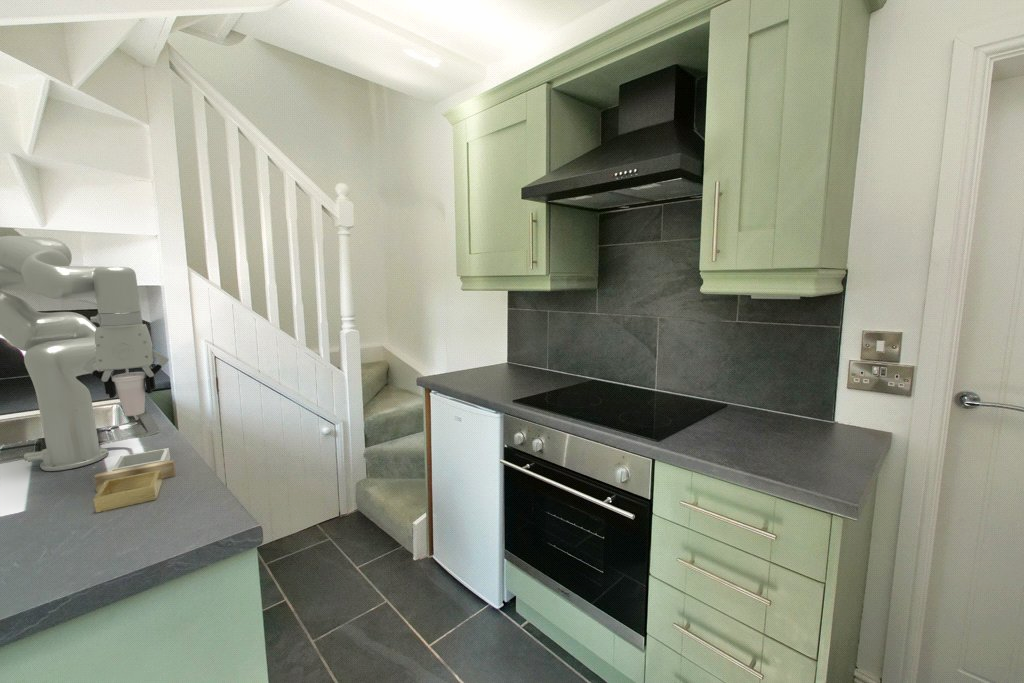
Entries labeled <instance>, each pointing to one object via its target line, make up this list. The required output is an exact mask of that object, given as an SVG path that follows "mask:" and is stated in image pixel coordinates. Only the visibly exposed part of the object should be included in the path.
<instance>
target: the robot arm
mask: <svg viewBox="0 0 1024 683" xmlns="http://www.w3.org/2000/svg"><path fill="white" fill-rule="evenodd" d="M72 259H73V258H72V252H71V250H70V248H69V247H68V245H66V243H64V242H63V241H61V240H59V239H57V238H52V237H43V236H42V237H41V236H40V237H39V236H23V235H4V236H2V235H1V236H0V335H1V336H2V337H3V338H4V339H5V340H6V341H7V342H9V344H11V345H12V346H13V347H14V348H16V349H17V350H20V351H22V352H25V354H24V357H23V362H24V365H25V369H26V370H27V373H28V375H29V377H30V379H31V381H32V384H33V388H34V391H35V394H36V399H37V404H38V409H39V414H40V419H41V426H42V431H43V437H44V443H45V446H46V448H45V449H42V450H40V451H32V452H26V453H24V454H23V459H24V461H25V462H27V463H30V462H33V463H34V462H37V461H41V463H40V469H41V470H43V471H46V472H57V471H59V472H60V471H65V470H71V469H75V468H81V467H84V466H87V465H91V464H94V463H96V462H99V461H100V460H103V459H105V458H107V457H108V455H109V451H108V449H107V448H105V447H100V444H99V438H98V431H97V425H96V419H95V411H94V406H93V401H92V400H93V399H92V396H91V392H90V390H89V388H88V387H87V386H86V385H85V384H84V383H83V382H81V381H80V380H78V379H77V377H79V376H82V375H88V374H91V375H92V376H94V377H96V378H98V379H99V380H100V381H101V382H103V383H104V391H105V394H106V395H108V396H109V399H113V398H114V397H116V396H117V390H116V387H115V383H114V382H113V381H112V376H113V373H114V371H116V370H125V369H137V368H139V369H140V368H142V370H143V372H145V373H146V376H147V377H146V378H145V389H146V393H147V394H152V393H153V392H154V390H156V381H155V375H156V374H157V373H158V372H159V371H160V370H161V369H162V368H163V367H164V366H165V365H166V364H167V363H168V362H169V360H170V358H168V357H167V356H165V355H164V354H162V353H160V352H158V351H157V350H155V349H154V347H153V346H154V345H153V341H152V337H151V334H150V331H149V329H148V326H147V324H143V317H142V312H141V303H140V297H139V296H140V295H139V288H138V281H137V274H136V272H135V270H134V269H133V268H132V267H129V266H128V267H127V266H88V265H87V266H85V265H84V266H83V265H71V263H72ZM7 291H32V292H33V293H36V294H38V295H41V296H42V297H43V296H44V297H47V298H49V299H53V300H58V301H59V300H61V301H65V300H66V301H67V300H85V299H86V300H88V299H89V300H90V299H94V300H96V308H97V312H98V313H97V314H96V315H95V316H90V320H89V319H88V317H86V316H84V315H83V314H80V313H77V312H73V311H59V312H58V311H57V312H42V311H41V312H40V311H38V310H36V309H35V308H34V307H33V306H31V304H30V303H29V302H27V301H26V300H24V299H22V298H21V297H18V296H15V294H14V295H13V294H11V293H7ZM94 323H95V324H99V326H98V327H97V326H96V325H95V324H94ZM155 358H156V359H157V360H158V363H157V364H156V365H155V366H154V367H152V364H153V363H154V362H155Z"/></svg>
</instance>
